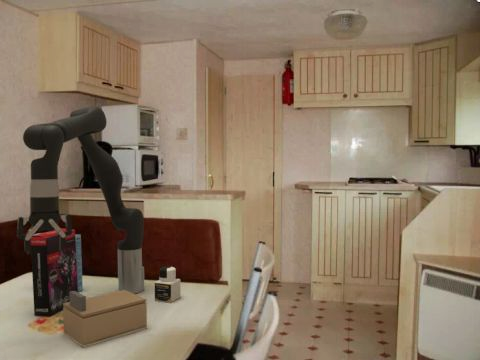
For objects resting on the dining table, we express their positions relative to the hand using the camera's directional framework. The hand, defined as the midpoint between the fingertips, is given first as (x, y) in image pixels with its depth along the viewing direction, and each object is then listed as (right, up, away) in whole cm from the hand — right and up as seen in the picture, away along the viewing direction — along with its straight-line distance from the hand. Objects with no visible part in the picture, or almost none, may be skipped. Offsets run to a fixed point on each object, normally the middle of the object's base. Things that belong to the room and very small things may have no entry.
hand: (45, 251), depth 124 cm
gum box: (-18, -24, +51) cm, 59 cm away
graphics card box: (-9, -25, +29) cm, 39 cm away
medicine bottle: (+29, -24, +38) cm, 54 cm away
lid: (+15, -17, +7) cm, 24 cm away
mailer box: (+15, -25, +7) cm, 30 cm away
